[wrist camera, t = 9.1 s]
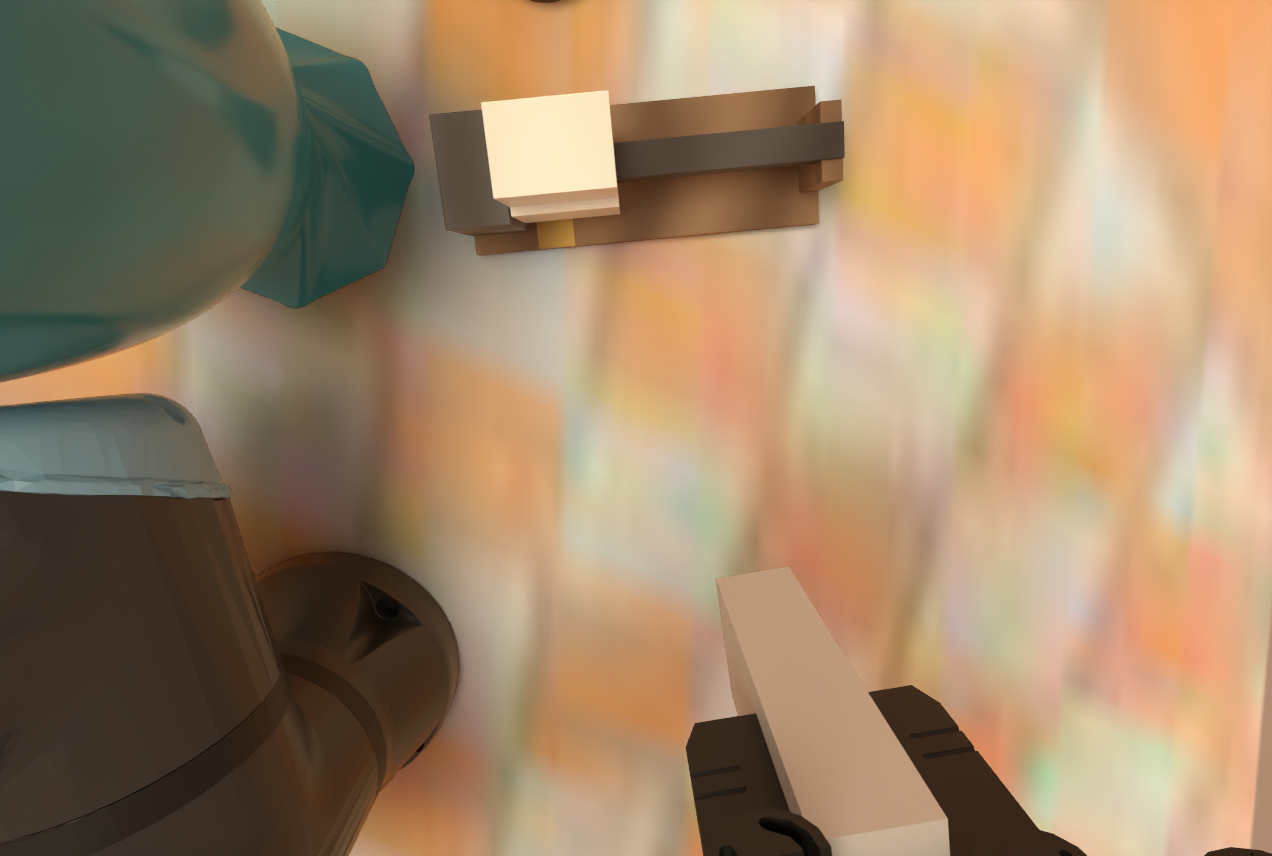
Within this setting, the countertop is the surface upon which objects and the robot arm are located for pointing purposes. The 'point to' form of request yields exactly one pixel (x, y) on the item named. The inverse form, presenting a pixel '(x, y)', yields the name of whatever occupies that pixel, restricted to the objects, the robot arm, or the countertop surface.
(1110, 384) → the countertop surface
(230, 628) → the robot arm
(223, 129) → the vase
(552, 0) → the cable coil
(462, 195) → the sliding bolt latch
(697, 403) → the countertop surface
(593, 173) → the sleeve
